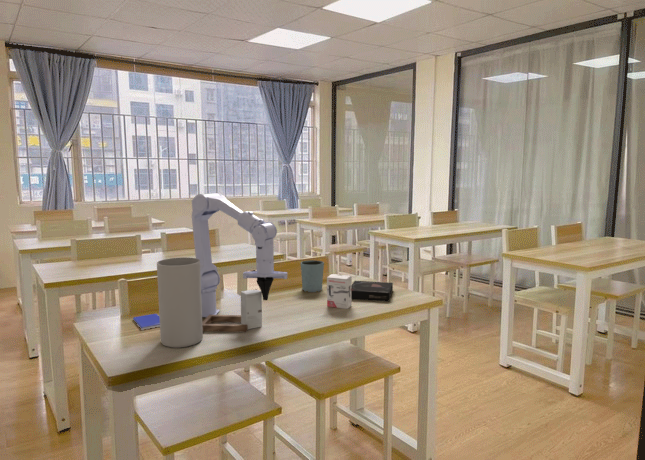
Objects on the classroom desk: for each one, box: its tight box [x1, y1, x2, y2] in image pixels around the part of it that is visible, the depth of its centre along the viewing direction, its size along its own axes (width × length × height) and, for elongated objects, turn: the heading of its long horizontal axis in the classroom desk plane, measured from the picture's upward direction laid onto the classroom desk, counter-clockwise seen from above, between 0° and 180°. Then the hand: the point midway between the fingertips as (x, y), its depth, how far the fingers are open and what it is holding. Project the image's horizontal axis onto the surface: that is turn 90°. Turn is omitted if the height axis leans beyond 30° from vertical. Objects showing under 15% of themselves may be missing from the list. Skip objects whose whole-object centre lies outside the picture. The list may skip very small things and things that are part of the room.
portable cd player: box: [351, 280, 394, 303], centre depth 199 cm, size 16×17×4 cm
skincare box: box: [240, 289, 263, 330], centre depth 160 cm, size 6×4×12 cm
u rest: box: [202, 314, 249, 333], centre depth 161 cm, size 15×11×2 cm
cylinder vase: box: [156, 256, 204, 349], centre depth 146 cm, size 12×12×25 cm
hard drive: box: [132, 313, 160, 331], centre depth 165 cm, size 2×8×12 cm
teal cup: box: [300, 259, 325, 293], centre depth 207 cm, size 10×10×12 cm
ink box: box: [326, 273, 353, 310], centre depth 182 cm, size 9×5×12 cm, turn 68°
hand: (265, 299), depth 159 cm, fingers closed
